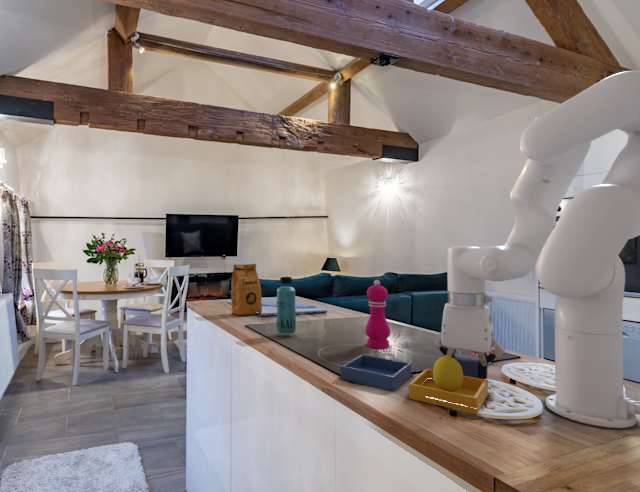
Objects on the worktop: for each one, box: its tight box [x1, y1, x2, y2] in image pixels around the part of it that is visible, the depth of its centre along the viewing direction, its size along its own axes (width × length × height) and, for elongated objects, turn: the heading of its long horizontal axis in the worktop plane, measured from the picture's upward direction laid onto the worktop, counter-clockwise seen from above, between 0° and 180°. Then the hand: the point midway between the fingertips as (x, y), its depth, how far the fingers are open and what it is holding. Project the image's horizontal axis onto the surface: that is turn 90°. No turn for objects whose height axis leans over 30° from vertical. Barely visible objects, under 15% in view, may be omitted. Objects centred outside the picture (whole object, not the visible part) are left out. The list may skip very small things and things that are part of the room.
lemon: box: [432, 355, 463, 392], centre depth 84 cm, size 6×6×8 cm
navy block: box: [454, 353, 480, 378], centre depth 93 cm, size 5×5×5 cm
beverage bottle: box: [276, 276, 297, 335], centre depth 136 cm, size 6×7×20 cm
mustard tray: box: [408, 368, 489, 415], centre depth 84 cm, size 12×12×3 cm
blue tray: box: [340, 353, 412, 392], centre depth 95 cm, size 12×12×3 cm
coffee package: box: [230, 263, 263, 316], centre depth 176 cm, size 10×12×22 cm
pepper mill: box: [364, 279, 391, 350], centre depth 122 cm, size 7×7×20 cm
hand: (467, 377), depth 93 cm, fingers closed on navy block, 5 cm apart
